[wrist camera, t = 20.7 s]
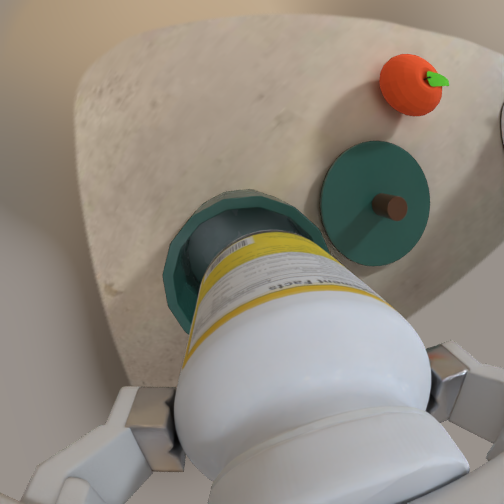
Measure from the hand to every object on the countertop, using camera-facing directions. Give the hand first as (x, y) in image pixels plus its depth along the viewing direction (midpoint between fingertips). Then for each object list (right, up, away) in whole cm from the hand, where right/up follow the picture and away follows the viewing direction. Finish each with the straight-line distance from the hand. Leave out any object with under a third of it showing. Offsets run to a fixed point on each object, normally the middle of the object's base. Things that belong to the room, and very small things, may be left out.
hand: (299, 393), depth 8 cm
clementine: (+15, +22, +21) cm, 34 cm away
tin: (-2, +4, +24) cm, 24 cm away
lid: (+12, +9, +23) cm, 28 cm away
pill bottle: (0, +2, +7) cm, 7 cm away
